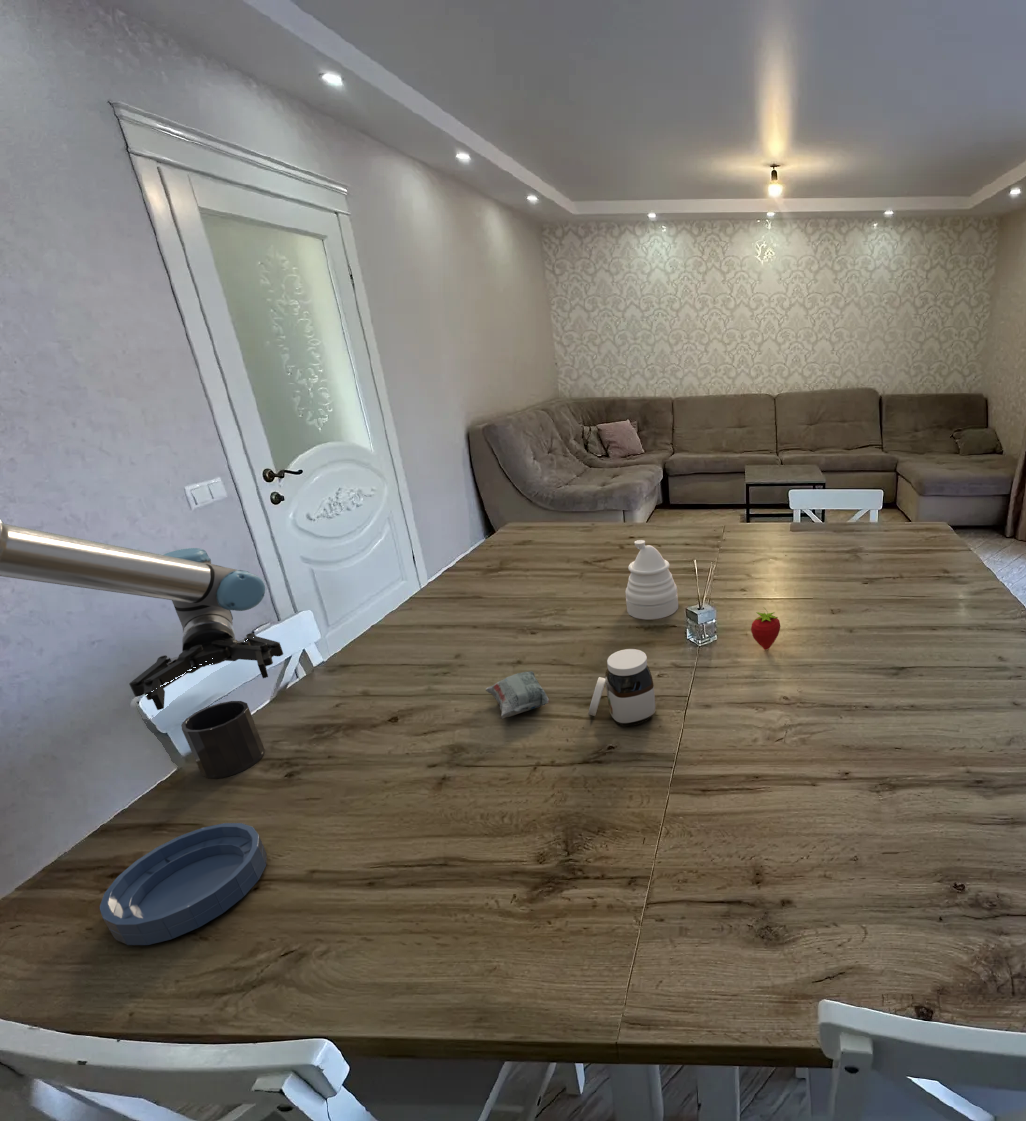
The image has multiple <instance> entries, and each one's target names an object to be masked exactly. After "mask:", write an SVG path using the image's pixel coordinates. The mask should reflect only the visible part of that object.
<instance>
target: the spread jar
mask: <svg viewBox="0 0 1026 1121" xmlns="http://www.w3.org/2000/svg"><path fill="white" fill-rule="evenodd" d="M606 664H607V668H606V669H605V674H604V677H601V676H599V677H598V678H597V681H596V684H595V687H594V689H593V690H594V691H593V694H592V697H591V701H590V704H589V707H588V712H587V715H590V716H594V717H596V715H597V712H598V709H599V706H600V702H601V699H602V696H603V692H604V688H606V690H605V691H606V698H607V704H608V705H607V706H608V709H609V710H608V711H609V713H610V716H611V719H612V720H613V721H614V722H615V723H616V724H617V725H620V726H626V727H632V726H637V725H640V724H643V723H644V722H647V721H648V720H649V719H650V718H652V717H653V716H654V715H655V713H656V696H655V694H656V693H655V684H654V680H653V675H652V672H651V669H650V667H649V666H648V657H647V654H646V653H645V652H644V651H643V650H640V649H635V648H626V649H621V650H618V651H614V652H613V653H612V654H610V655H609V656H608V657H607V659H606Z"/></svg>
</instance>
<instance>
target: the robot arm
mask: <svg viewBox="0 0 1026 1121" xmlns="http://www.w3.org/2000/svg"><path fill="white" fill-rule="evenodd" d="M0 577H3V578H10V579H18V580H23V581H24V580H26V581H30V582H31V581H32V582H37V583H38V582H39V583H46V584H52V585H61V586H67V587H75V588H83V589H90V590H95V591H96V590H97V591H104V592H110V593H117V594H118V593H119V594H125V595H131V596H132V595H133V596H140V597H145V598H155V599H161V600H169V601H171V602H172V604H173V607H174V610H175V613H176V615H177V617H178V620H179V622H180V624H181V625H180V626H181V628H182V640H181V643H182V644H181V646H182V648H181V652H180V653H179V654H178V656H174V657H170V656H168V655H167V654H166V655H161V656H159V657H157V659H156V661H155V662H154V663H153V664H152V665H150V666H149V667H147V669H145V670H144V671H143V672H142V673H140V674H139V675H138V676H137V677H135V678H134V679H133V680H131V681H130V682H129V687H130V690H131V691H132V693H133V695H134V697H136V698H137V697H141V696H143V695H146V694H148V695H147V696H145V698H146V700H147V701H151V700H152V701H153V703H154V706H155V708H156V710H157V711H161V710H163V709H165V696H166V690H165V688H167V687H168V686H170V685H171V684H173V683H174V682H176V681H178V680H179V679H181V678H183V677H184V676H186V675H188V674H194V673H195V672H196V671H198V670H200V669H201V668H205V667H207V666H214V665H219V664H221V663H223V662H237V661H238V660H242V661H244V660H245V661H256V662H257V666H258V670H259V672H260V674H261V677H262V679H266V678H269V674H268V670H267V667H268V666H271V665H273V664H274V661H273V657H282V656H283V655H284V651H283V648H282V645H281V642H280V641H277V640H272V639H268V638H265V637H261V636H257V635H256V634H255V633H254V632H249V633H247V634H246V635H245V637H244V638H243V639H240V640H237V639H236V636H235V629H234V625H233V624H234V623H233V620H234V617H233V613H232V611H236V612H244V611H248V610H251V609H253V608H255V607H257V606H258V605H259V604H261V602H262V601H263V599H264V597H265V594H266V584H265V582H264V581H263V579H262V578H261V577H260V576H258V575H256V574H255V573H251V572H250V571H247V570H242V569H236V568H232V567H225V566H222V565H217V564H213V563H212V559H211V557H210V556H209V555H208V553H207V551H206V550H205V549H203V548H201V547H189V548H181V549H177V550H173V551H169V552H167V553H164V554H159V553H155V552H151V551H145V550H140V549H135V548H129V547H126V546H120V545H115V544H114V545H113V544H109V543H105V542H99V541H95V540H90V539H84V538H79V537H74V536H69V535H64V534H59V533H53V532H48V531H45V530H44V531H43V530H38V529H33V528H28V527H23V526H19V525H13V524H7V523H5V522H3V520H2V519H1V518H0ZM253 637H254V638H253ZM247 639H248V640H247ZM246 640H247V641H246ZM244 641H245V642H244ZM212 658H213V659H212ZM205 661H207V662H205ZM212 663H213V664H212ZM199 664H202V665H199ZM209 664H211V665H209ZM193 667H196V668H193ZM189 669H192V670H191V671H187V670H189ZM185 672H186V673H185ZM184 673H185V674H184ZM182 674H184V675H183V676H180V675H182ZM178 676H180V677H178ZM175 677H178V678H177V679H175ZM173 679H174V680H173ZM171 680H173V681H172V682H170V681H171ZM165 682H169V683H167V684H166V685H163V684H164V683H165ZM160 685H163V686H161V687H160ZM156 688H157V689H156ZM153 690H154V691H153ZM151 691H153V692H151Z"/></svg>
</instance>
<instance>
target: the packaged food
mask: <svg viewBox="0 0 1026 1121" xmlns="http://www.w3.org/2000/svg"><path fill="white" fill-rule="evenodd" d="M485 691H486V692H487V693H488V694H490V695H491V696H493V697H494V699H495V700H496V702H497V704H498V705H499V709H500V711H501V715H500V719H502V720H503V719H505V718H509V717H510V718H511V717H513V716H516V715H520V714H522V713H525V712H528V711H530V710H534V709H538V708H541V707H543V706H546V705H547V704H548V703H550V699H549V697H548V694H547V693H546V691H545V690H544V688H543V687H542V685H541V684H540V683H539V681H538V679H537V678H536V676H535V672H534V671H532V670H531V671H530V670H529V671H523V672H517V673H515V674H512V675H509V676H506V677H505V678H503V679H501V680H499V681H497V682H495V683H494V684H493V685H490V686H488V687H486V688H485Z"/></svg>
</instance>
